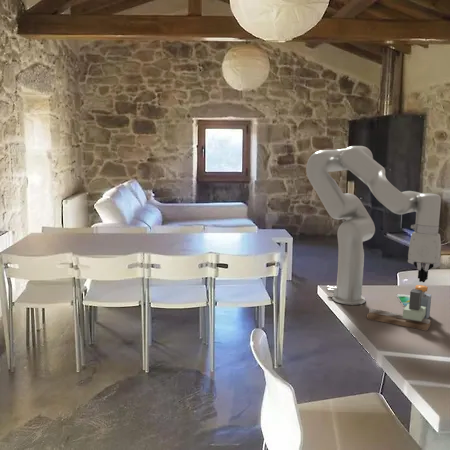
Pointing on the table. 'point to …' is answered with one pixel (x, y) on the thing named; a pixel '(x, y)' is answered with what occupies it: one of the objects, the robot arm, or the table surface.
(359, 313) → the table surface
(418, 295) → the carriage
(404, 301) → the smartphone
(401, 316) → the rail board
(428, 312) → the cabinet
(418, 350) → the table surface
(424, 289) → the plunger
